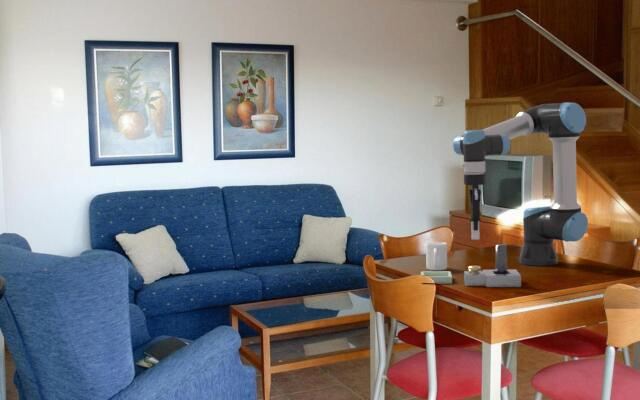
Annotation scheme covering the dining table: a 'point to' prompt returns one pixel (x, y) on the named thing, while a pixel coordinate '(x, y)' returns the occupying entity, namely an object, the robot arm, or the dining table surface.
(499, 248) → the gray rectangular peg
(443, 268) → the mug
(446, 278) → the tray
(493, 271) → the socket block
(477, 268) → the brass knob
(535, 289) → the dining table surface
